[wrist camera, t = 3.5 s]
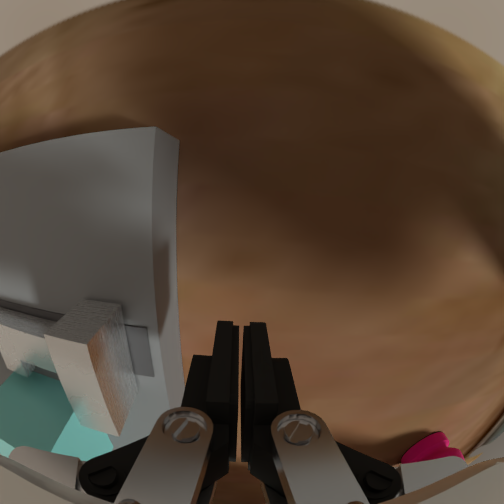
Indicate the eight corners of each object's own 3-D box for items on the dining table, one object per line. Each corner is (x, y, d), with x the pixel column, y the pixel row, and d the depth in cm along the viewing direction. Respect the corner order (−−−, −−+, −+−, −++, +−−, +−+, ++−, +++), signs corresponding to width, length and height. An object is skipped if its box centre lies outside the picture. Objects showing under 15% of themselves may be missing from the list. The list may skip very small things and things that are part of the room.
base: (179, 140, 13) (154, 126, 9) (192, 441, 18) (186, 479, 14) (-12, 166, 12) (-49, 169, 8) (41, 402, 18) (23, 427, 14)
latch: (121, 304, 10) (86, 344, 7) (138, 392, 12) (120, 438, 9) (-10, 281, 10) (-45, 302, 7) (13, 356, 11) (-13, 382, 8)
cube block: (87, 389, 12) (44, 464, 6) (113, 446, 13) (90, 510, 8) (19, 365, 12) (-27, 418, 6) (49, 424, 13) (19, 475, 7)
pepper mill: (387, 461, 21) (437, 585, 2) (438, 422, 20) (509, 543, 1) (408, 467, 23) (454, 569, 3) (452, 434, 21) (511, 532, 2)
